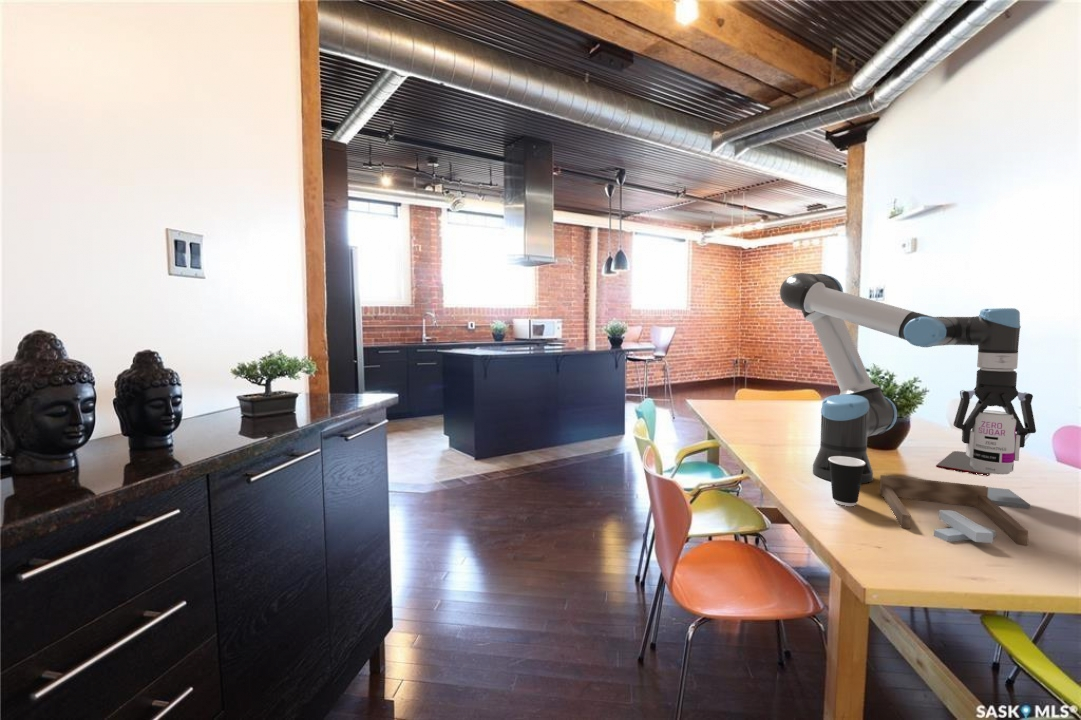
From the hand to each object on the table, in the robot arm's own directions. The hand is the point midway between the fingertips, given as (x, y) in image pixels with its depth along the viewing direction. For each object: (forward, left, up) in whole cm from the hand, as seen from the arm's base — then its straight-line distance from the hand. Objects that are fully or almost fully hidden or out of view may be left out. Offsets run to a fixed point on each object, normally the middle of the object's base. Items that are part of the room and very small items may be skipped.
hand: (991, 457), depth 127 cm
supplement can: (0, 0, -3) cm, 3 cm away
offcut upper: (-14, -31, -9) cm, 36 cm away
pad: (0, 0, -10) cm, 10 cm away
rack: (-14, -20, -10) cm, 27 cm away
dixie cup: (-34, -20, -11) cm, 41 cm away
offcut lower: (-14, -32, -11) cm, 36 cm away
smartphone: (+6, +35, -11) cm, 37 cm away
